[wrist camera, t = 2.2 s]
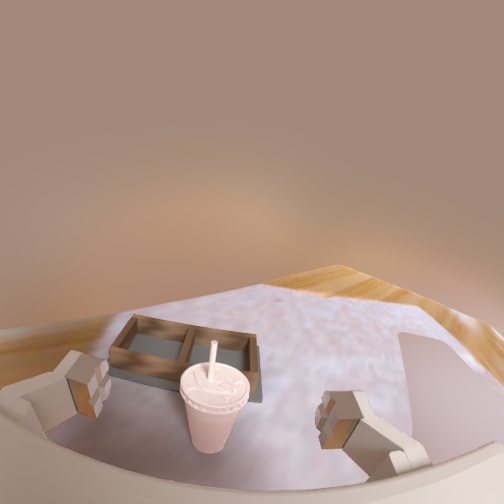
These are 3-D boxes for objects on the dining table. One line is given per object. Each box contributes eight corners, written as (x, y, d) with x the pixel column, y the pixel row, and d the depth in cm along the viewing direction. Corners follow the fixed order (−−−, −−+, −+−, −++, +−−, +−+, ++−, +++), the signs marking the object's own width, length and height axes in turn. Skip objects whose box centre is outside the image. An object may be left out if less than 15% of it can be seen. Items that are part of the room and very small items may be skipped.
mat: (101, 372, 33) (101, 370, 32) (131, 326, 45) (131, 324, 45) (261, 402, 34) (262, 400, 34) (258, 348, 46) (258, 345, 46)
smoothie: (198, 413, 30) (207, 317, 27) (246, 435, 28) (270, 341, 24) (168, 444, 25) (164, 346, 21) (220, 472, 22) (237, 381, 19)
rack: (110, 366, 34) (108, 349, 33) (134, 329, 44) (133, 313, 43) (254, 393, 35) (258, 377, 34) (253, 349, 45) (256, 334, 44)
